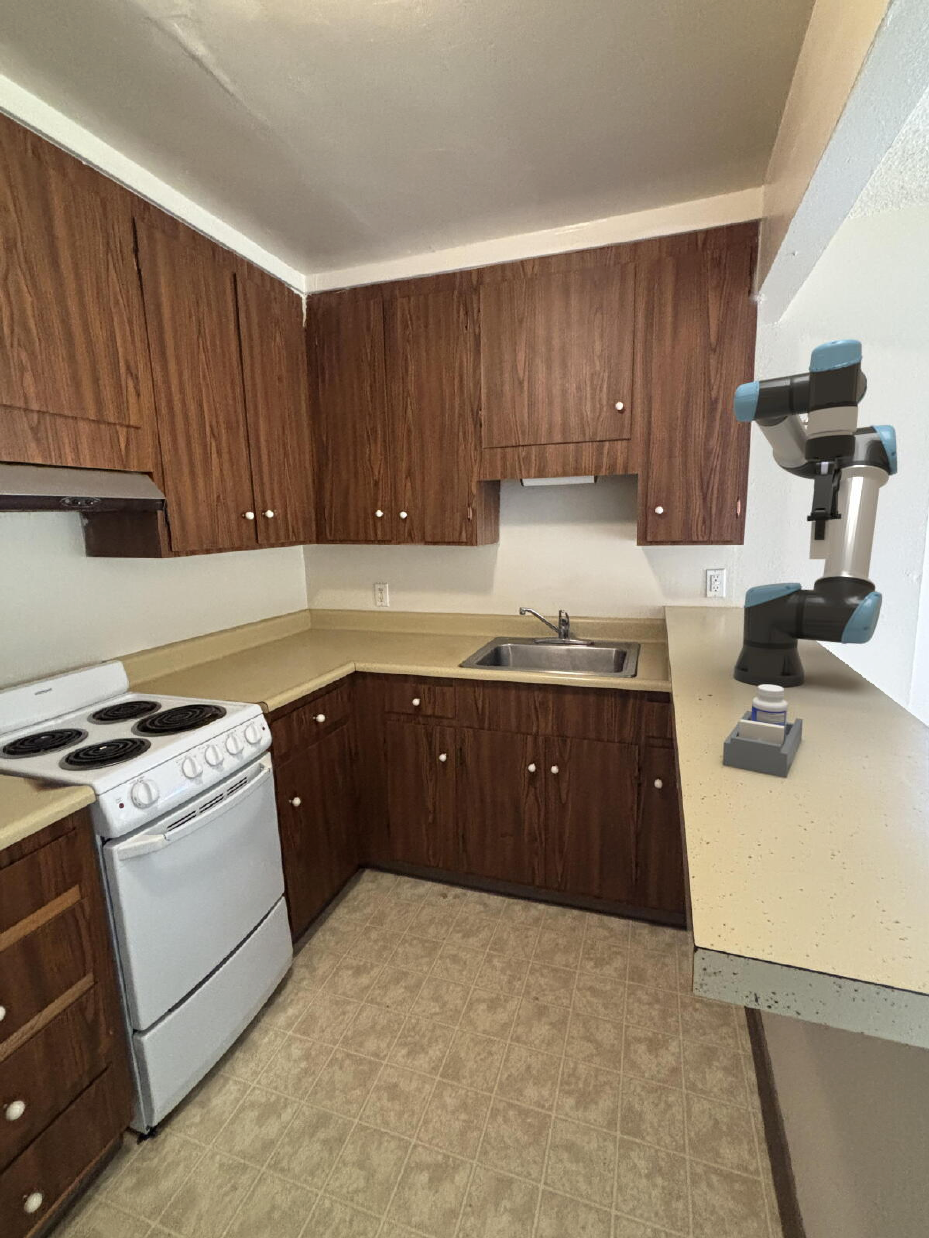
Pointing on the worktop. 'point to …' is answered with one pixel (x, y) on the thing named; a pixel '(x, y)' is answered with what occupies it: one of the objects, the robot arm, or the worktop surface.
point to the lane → (762, 750)
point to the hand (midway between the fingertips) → (822, 556)
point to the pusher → (761, 731)
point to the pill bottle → (770, 706)
